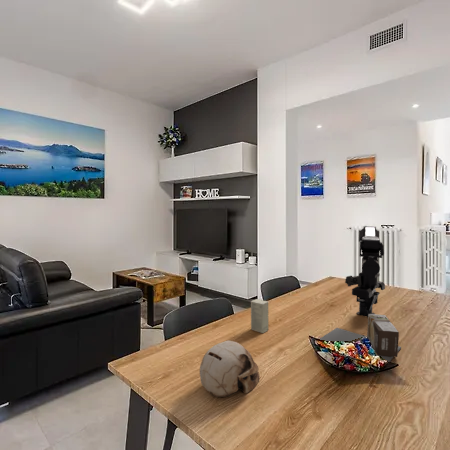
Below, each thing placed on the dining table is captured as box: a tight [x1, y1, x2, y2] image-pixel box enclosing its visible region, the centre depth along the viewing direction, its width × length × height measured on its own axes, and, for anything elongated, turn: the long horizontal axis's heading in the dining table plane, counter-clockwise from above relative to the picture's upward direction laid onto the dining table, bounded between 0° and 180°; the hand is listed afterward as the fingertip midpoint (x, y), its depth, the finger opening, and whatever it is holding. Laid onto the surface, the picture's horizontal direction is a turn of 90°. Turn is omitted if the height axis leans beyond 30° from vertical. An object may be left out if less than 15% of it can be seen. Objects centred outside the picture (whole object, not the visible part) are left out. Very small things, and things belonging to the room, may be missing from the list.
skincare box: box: [250, 298, 269, 334], centre depth 123 cm, size 6×4×12 cm
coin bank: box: [199, 340, 261, 398], centre depth 84 cm, size 16×17×13 cm
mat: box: [319, 327, 402, 363], centre depth 110 cm, size 20×24×1 cm
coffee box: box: [366, 313, 400, 358], centre depth 108 cm, size 9×6×16 cm
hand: (368, 310), depth 116 cm, fingers closed
